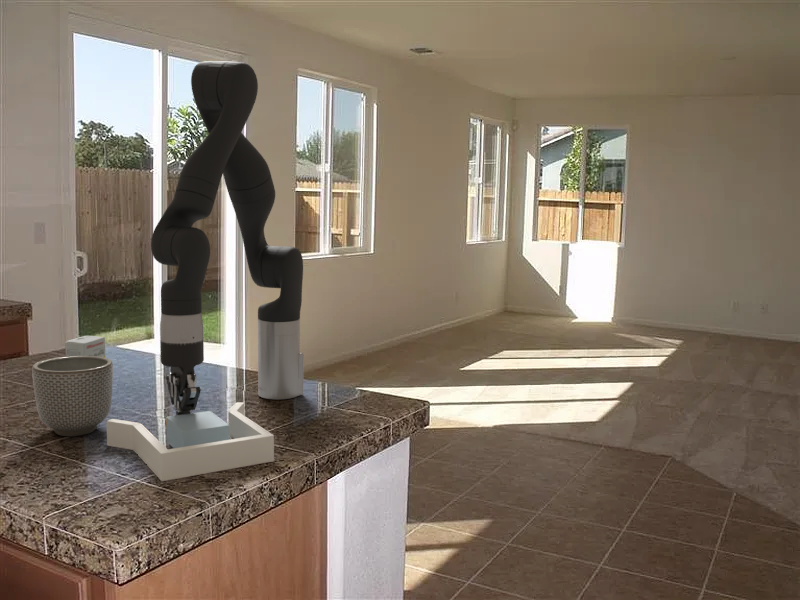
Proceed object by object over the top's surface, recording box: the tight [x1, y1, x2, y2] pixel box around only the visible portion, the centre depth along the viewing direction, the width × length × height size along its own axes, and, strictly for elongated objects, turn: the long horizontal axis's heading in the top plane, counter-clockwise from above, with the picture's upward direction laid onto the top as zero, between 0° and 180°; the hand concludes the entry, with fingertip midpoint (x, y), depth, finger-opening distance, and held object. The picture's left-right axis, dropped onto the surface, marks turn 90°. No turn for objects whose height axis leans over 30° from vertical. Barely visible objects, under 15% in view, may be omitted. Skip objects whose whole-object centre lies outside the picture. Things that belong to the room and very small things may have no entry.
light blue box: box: [165, 410, 231, 449], centre depth 139 cm, size 8×10×6 cm
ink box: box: [64, 335, 107, 358], centre depth 177 cm, size 9×5×12 cm, turn 168°
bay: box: [106, 401, 275, 482], centre depth 139 cm, size 26×23×4 cm
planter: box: [31, 356, 114, 437], centre depth 148 cm, size 14×14×13 cm
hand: (183, 430), depth 145 cm, fingers closed
